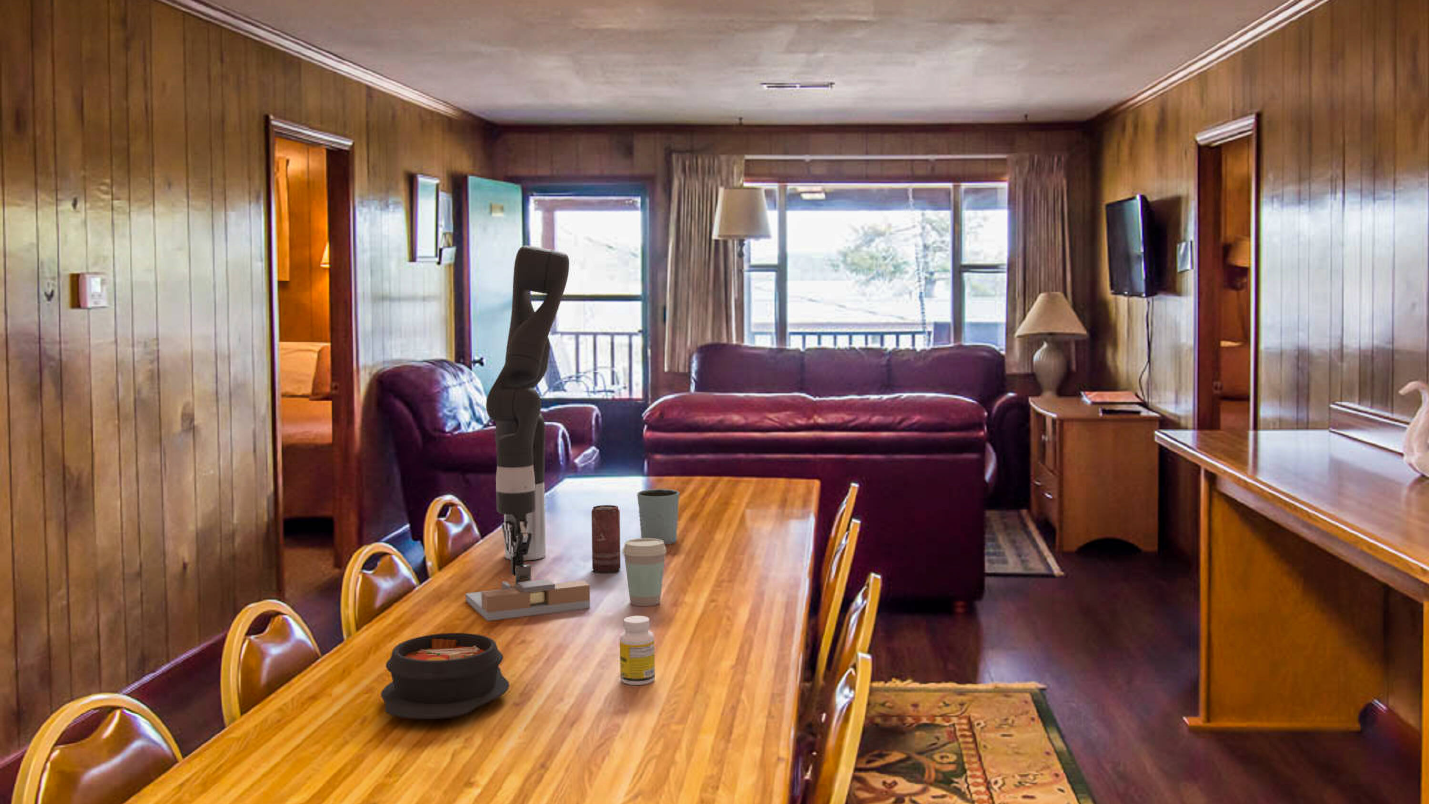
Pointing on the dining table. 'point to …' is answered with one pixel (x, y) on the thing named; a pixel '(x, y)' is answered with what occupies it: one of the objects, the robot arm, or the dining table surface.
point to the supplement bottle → (637, 652)
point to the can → (605, 539)
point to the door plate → (524, 612)
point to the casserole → (443, 676)
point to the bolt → (523, 576)
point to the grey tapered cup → (658, 514)
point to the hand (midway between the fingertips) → (517, 574)
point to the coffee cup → (644, 570)
